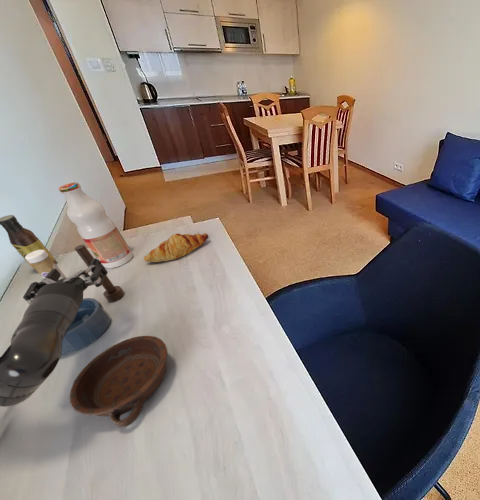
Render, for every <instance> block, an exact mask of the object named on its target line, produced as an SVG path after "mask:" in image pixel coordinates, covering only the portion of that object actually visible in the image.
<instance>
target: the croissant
mask: <svg viewBox="0 0 480 500" xmlns="http://www.w3.org/2000/svg"><path fill="white" fill-rule="evenodd" d="M208 239H209V234H208V233H207V232H206V233H202V234H200V233H195V234H190V233H187V234H186V233H184V234H181V233H178V232H177V233H174V234H172V235H171V236H169V237H168V239H167V240H164V241H162V242H160V243H159V244H158V246H157V247H155V248H153V249H151V250H150V251H149V252H148V254H147V255H145V256H143V261H144V262H146V263H159V262H167V261H174V260H177V259H179V258H181V257H185V256H187V255H188V254H190V253H192V252H193V251H194V250H196V249H197V248H199V247H201V246H202V245H203V244H205V243H206V241H207V240H208Z"/></svg>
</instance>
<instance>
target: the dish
mask: <svg viewBox="0 0 480 500" xmlns="http://www.w3.org/2000/svg"><path fill="white" fill-rule="evenodd" d="M167 359H168V348H167V345H166V343H165V342H164V341H163V340H162V339H161V338H159V337H156V336H153V335H139V336H134V337H130V338H127V339H124V340H122V341H119V342H117V343H116V344H114V345H112V346H110V347H108V348H107V349H105V350H104V351H102V352H101V353H100V354H98V355H96V356H95V357H94V358H93V359H92V360H91V361H90V362H88V363H87V364H86V365H85V367H84V368H83V369H81V371H80V372H79V374H78V375H77V376H76V378H75V379H74V381H73V383H72V386H71V388H70V391H69V403H70V406H71V407H72V409H73V410H74V411H75V412H76V413H79V414H81V415H85V416H86V415H88V416H98V417H109V418H110V420H111V422H112V423H113V424H114V425H115V426H117V427H119V428H126V427H128V426H130V425H131V424H132V423H133V422H135V421H136V420H137V419H138V417H139V416H140V415H141V413H142V410H143V407H144V404H145V402H146V401H147V400H148V399H149V398H150V397H151V396H152V395H153V394H154V393H155V392H156V391H157V390H158V388H159V387H160V385H161V383H162V382H163V380H164V378H165V375H166V372H167V363H168V362H167V361H168V360H167ZM130 411H131V413H129V415H128V416H126V417H125V418H123V419H121V416H122V415H124V414H126V413H128V412H130Z"/></svg>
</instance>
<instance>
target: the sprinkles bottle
mask: <svg viewBox="0 0 480 500" xmlns="http://www.w3.org/2000/svg"><path fill="white" fill-rule="evenodd" d="M25 259H26V260H27V261H28V262H29V263H30V264H32V265H33V267H34V268H35V269H36V270H35V269H34V268H33V269H34V270H35V271H36V272H37V273H38V274H39V275H40V276H41V278H42V279H44V278H46V276H47V275H48V273H50V271H51V270H53V269H57V270H58V272H59V273H60V274H61V276H60V278H59V280H60V279H64V278H67V276H66V275H65V273H64V272H62V270H61V268H60V267H58V265H57V263H56V264H55V263H54V262H53V261H52V260H51V258H50V257H49V255H48V254H47V252H46V251H45V250H36V251H33V252H31V253H29V254H28V255H26V257H25ZM25 259H24V260H25ZM26 260H25V261H26ZM27 261H26V262H27ZM28 262H27V263H28ZM29 263H28V264H29ZM30 264H29V265H30Z"/></svg>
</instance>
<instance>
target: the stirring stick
mask: <svg viewBox="0 0 480 500" xmlns="http://www.w3.org/2000/svg"><path fill="white" fill-rule="evenodd" d="M74 251H75V252H76V253H77V254H78V256H79V257H80V259H81V260H82V261H83V263H84V264H85V266H87V268H88V267H89V265H90V263H91V261H92V259H94V258H95V257H94V256H93V255H92V254H91V252H90V251H89V250H88V248H87V246H86V245H85V244H79V245H77V246H75V247H74ZM101 287H102V288H103V289H104V292H103V294H102V295H103V297H104V298H105V299H106V301H107V302H109V303H114V302H117V301H120V300H121V299H122V298H124V296H125V294H126V293H125V292H124V289H123V288H122V287H121V286H120V285H114V283H113V282H112V281H111V279H110V278H109V276H108V274H107V275H106V277H105V279H104V281H103V283H102V285H101Z"/></svg>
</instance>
